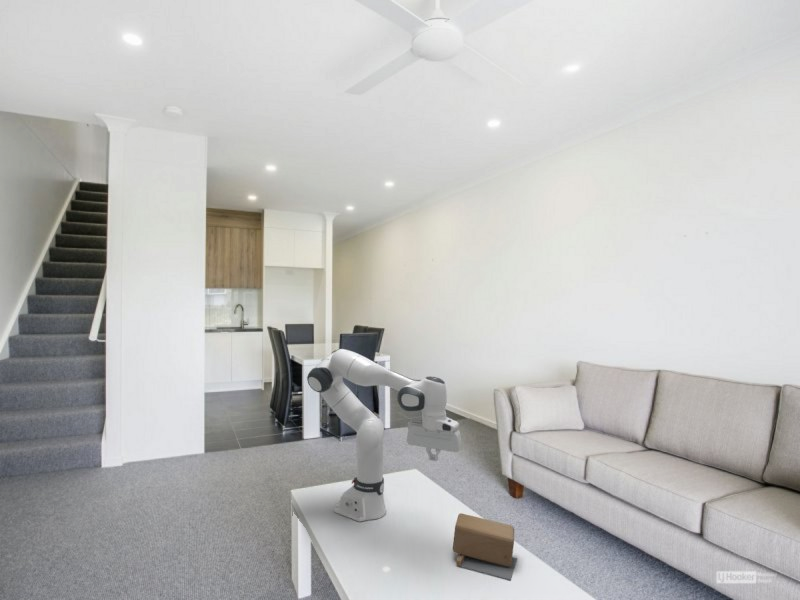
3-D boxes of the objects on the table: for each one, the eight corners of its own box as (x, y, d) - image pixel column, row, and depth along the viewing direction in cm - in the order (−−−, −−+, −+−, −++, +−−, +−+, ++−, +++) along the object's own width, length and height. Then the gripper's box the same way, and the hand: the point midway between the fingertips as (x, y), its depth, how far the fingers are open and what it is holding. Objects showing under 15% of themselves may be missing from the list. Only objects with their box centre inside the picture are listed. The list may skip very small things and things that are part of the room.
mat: (456, 566, 145) (456, 560, 145) (466, 547, 157) (466, 541, 157) (510, 580, 138) (510, 574, 138) (517, 559, 150) (517, 553, 150)
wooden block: (451, 553, 149) (511, 569, 143) (455, 525, 148) (514, 539, 143) (455, 538, 158) (511, 552, 153) (458, 511, 158) (514, 524, 153)
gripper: (404, 420, 158) (403, 458, 158) (458, 427, 149) (457, 467, 149) (411, 416, 164) (410, 453, 163) (463, 423, 155) (462, 462, 155)
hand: (433, 460), depth 156 cm, fingers closed
